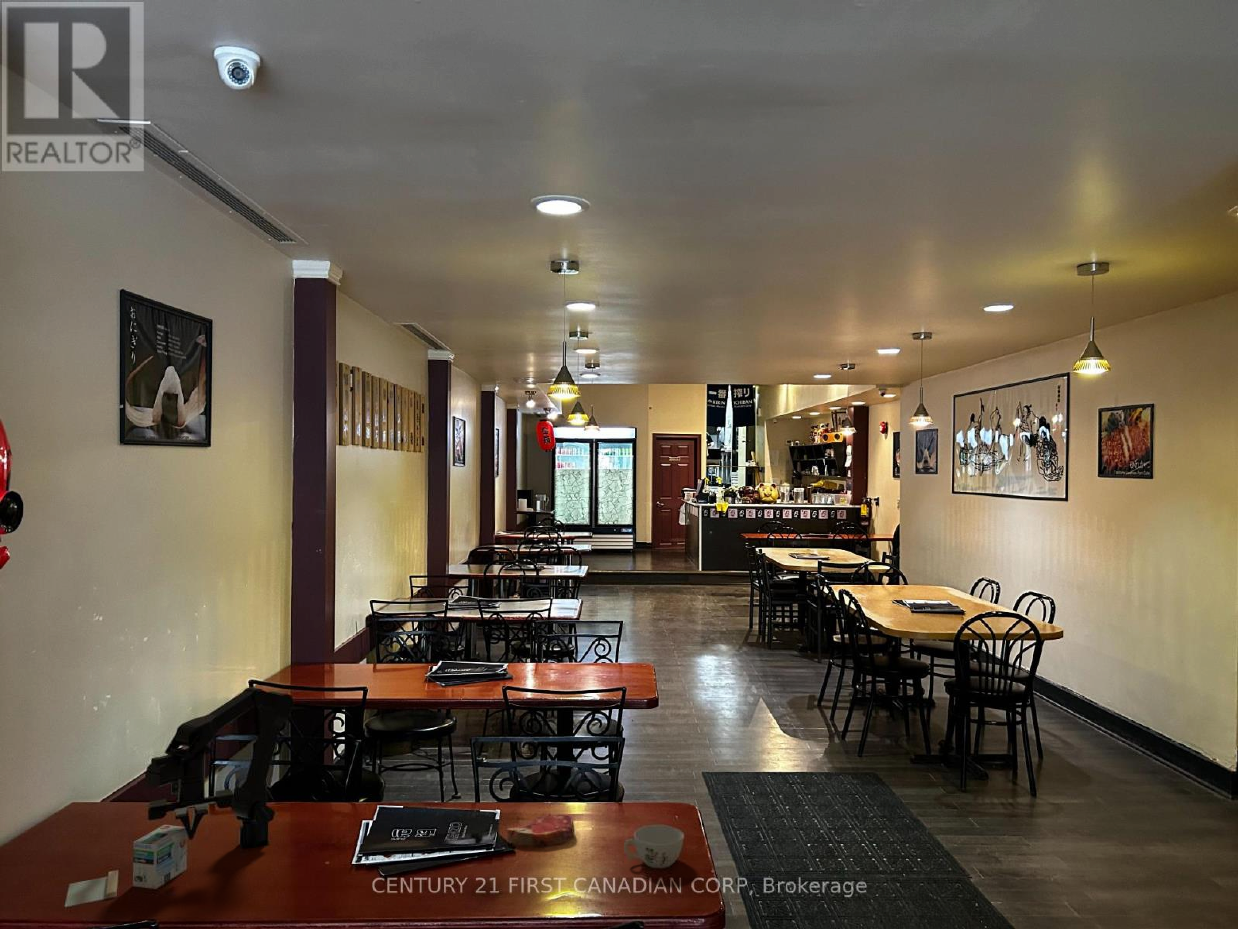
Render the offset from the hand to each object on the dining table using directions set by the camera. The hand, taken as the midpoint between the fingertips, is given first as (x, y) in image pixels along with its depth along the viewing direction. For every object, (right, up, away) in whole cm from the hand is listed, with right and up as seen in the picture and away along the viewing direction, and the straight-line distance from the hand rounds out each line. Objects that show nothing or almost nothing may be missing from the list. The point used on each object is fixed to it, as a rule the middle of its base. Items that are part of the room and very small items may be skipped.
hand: (190, 839), depth 209 cm
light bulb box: (-6, -8, -3) cm, 11 cm away
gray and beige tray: (-18, -8, -10) cm, 22 cm away
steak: (+85, -10, +19) cm, 87 cm away
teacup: (+114, -9, +5) cm, 114 cm away
